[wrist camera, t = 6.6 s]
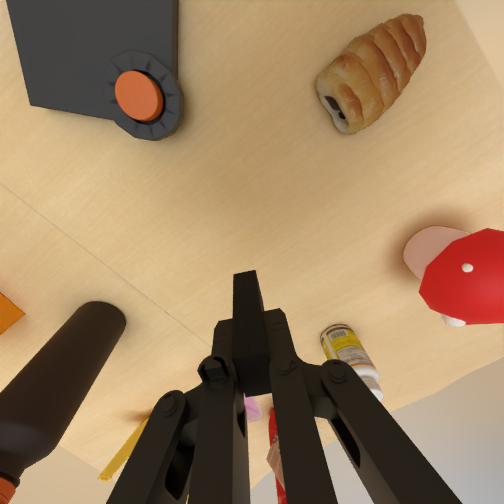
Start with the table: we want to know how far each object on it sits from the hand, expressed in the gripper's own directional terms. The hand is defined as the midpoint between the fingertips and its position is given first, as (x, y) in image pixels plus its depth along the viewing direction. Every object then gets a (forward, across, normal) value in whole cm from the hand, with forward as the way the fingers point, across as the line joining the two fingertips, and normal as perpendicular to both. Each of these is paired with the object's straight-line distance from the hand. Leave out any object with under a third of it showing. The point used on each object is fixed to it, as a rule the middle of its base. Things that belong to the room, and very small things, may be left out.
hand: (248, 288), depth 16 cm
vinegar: (+14, -23, -10) cm, 29 cm away
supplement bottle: (+14, +11, -23) cm, 29 cm away
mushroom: (+14, +23, -9) cm, 28 cm away
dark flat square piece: (+14, -8, +18) cm, 24 cm away
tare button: (+10, -6, +14) cm, 18 cm away
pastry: (+14, +14, +11) cm, 23 cm away
